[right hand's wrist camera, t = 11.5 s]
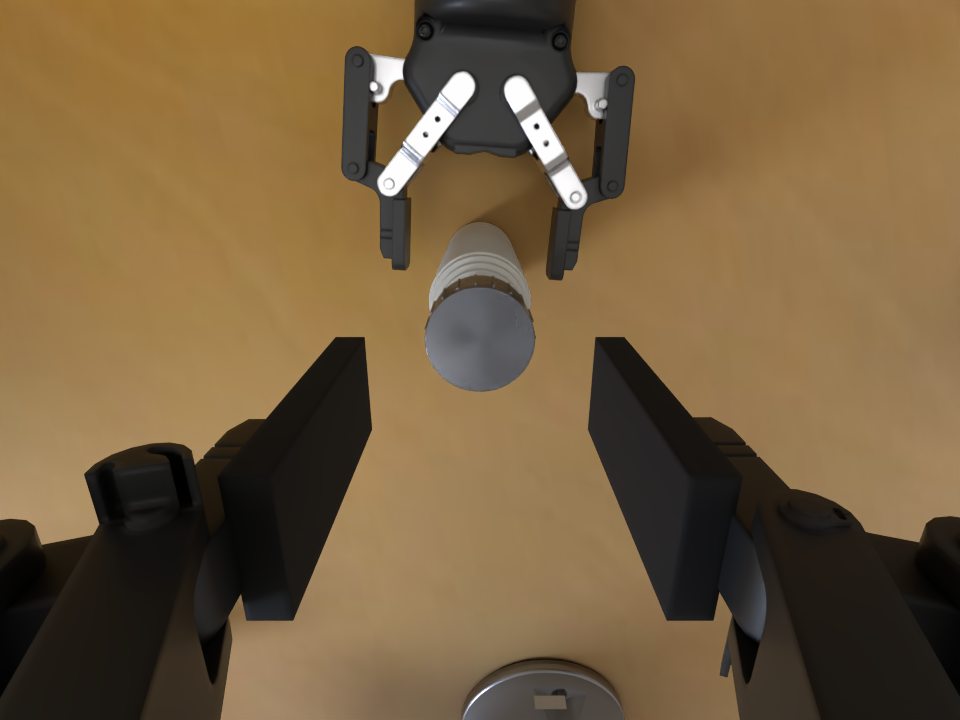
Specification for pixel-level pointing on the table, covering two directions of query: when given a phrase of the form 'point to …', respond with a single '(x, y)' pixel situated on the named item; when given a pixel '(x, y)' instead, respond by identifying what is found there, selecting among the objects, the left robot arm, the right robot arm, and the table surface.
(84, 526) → the table surface
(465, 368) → the cap
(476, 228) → the bottle
